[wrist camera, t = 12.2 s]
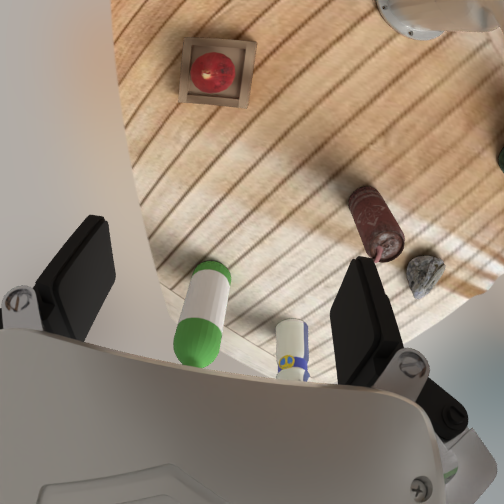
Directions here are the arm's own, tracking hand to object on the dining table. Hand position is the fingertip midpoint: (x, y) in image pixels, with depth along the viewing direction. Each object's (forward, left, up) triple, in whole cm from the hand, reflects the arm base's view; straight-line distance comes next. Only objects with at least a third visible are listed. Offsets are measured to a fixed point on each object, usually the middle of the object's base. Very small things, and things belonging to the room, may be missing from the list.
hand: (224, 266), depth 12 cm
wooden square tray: (-4, -7, -40) cm, 41 cm away
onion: (-4, -7, -38) cm, 38 cm away
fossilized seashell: (+27, +39, -40) cm, 62 cm away
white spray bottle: (+49, +14, -40) cm, 65 cm away
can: (+14, +20, -40) cm, 47 cm away
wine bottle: (+35, -5, -40) cm, 54 cm away
